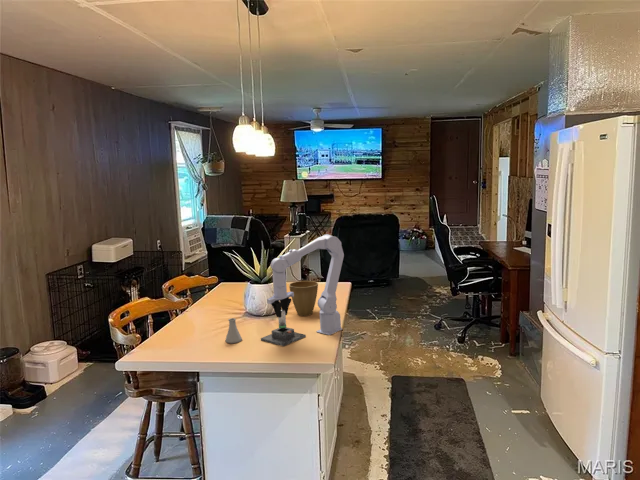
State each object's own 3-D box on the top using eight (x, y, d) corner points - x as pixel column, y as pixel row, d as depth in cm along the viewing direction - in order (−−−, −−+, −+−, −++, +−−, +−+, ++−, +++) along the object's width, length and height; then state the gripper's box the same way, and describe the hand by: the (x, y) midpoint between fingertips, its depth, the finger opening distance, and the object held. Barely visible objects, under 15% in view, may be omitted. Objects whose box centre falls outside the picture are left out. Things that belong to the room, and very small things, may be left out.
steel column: (282, 325, 215) (281, 308, 214) (287, 326, 213) (286, 310, 212) (277, 327, 213) (276, 310, 212) (282, 329, 211) (281, 311, 210)
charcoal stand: (283, 331, 224) (282, 323, 223) (305, 336, 214) (305, 328, 214) (260, 340, 213) (260, 331, 213) (283, 346, 204) (282, 337, 203)
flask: (222, 341, 214) (220, 319, 213) (236, 337, 219) (234, 315, 218) (231, 345, 209) (229, 322, 208) (245, 340, 214) (243, 318, 213)
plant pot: (307, 319, 239) (305, 288, 237) (285, 315, 248) (283, 285, 246) (325, 312, 251) (323, 282, 249) (303, 308, 260) (301, 279, 258)
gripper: (285, 281, 218) (287, 310, 220) (261, 288, 208) (263, 318, 209) (296, 283, 214) (298, 312, 216) (272, 290, 203) (274, 321, 205)
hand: (281, 315), depth 212 cm, fingers closed on steel column, 3 cm apart
